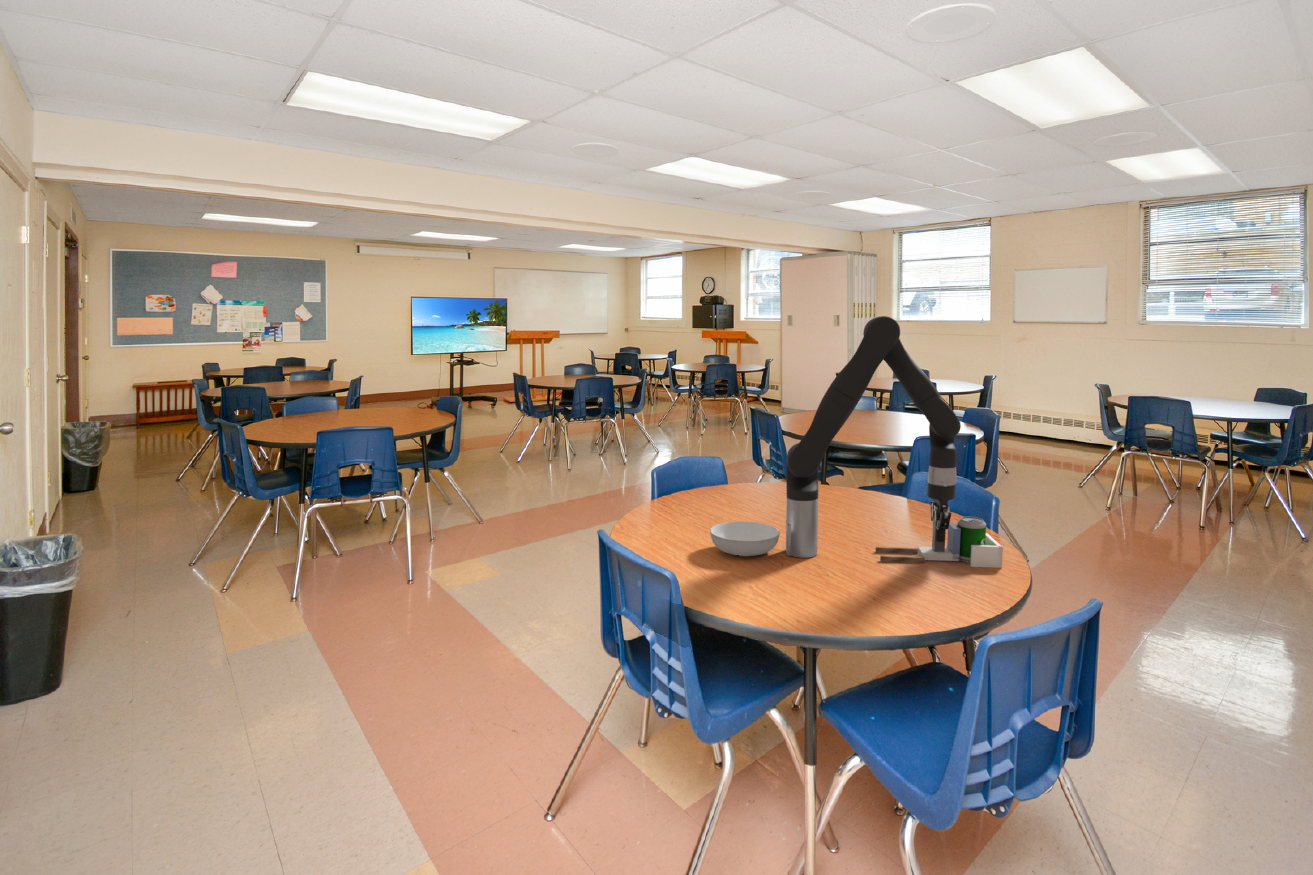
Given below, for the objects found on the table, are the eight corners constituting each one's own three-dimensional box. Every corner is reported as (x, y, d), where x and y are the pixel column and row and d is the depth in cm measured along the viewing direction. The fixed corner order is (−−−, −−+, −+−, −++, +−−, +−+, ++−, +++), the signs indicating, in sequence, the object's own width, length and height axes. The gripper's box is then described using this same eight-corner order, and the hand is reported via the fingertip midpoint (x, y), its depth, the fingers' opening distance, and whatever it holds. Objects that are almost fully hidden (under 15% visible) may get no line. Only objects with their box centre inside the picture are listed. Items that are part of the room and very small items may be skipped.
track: (880, 561, 192) (880, 556, 192) (875, 551, 201) (875, 546, 201) (924, 562, 190) (924, 557, 190) (917, 552, 199) (917, 547, 199)
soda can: (975, 565, 187) (977, 524, 185) (950, 558, 193) (952, 518, 191) (989, 560, 192) (991, 519, 190) (964, 553, 198) (966, 514, 196)
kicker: (922, 559, 192) (924, 519, 190) (917, 553, 198) (919, 513, 196) (959, 560, 190) (961, 520, 188) (953, 554, 196) (955, 514, 194)
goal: (971, 566, 187) (972, 546, 186) (957, 551, 199) (958, 532, 198) (1001, 567, 185) (1003, 546, 184) (986, 552, 198) (987, 533, 197)
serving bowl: (778, 565, 191) (778, 542, 190) (706, 561, 196) (705, 539, 194) (780, 542, 211) (780, 521, 210) (714, 540, 216) (714, 519, 215)
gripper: (922, 476, 198) (919, 532, 201) (934, 486, 184) (931, 547, 187) (948, 476, 197) (945, 533, 199) (963, 487, 183) (959, 548, 186)
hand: (938, 539), depth 193 cm, fingers closed on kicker, 3 cm apart
